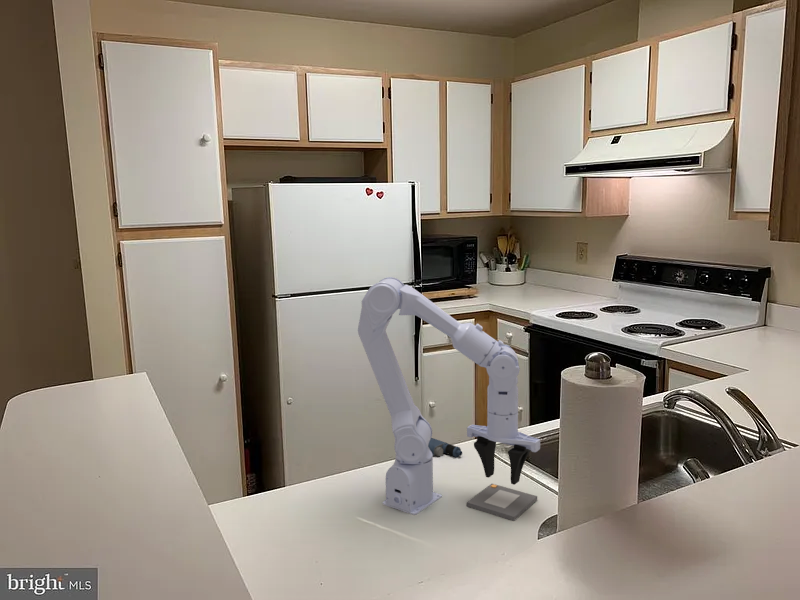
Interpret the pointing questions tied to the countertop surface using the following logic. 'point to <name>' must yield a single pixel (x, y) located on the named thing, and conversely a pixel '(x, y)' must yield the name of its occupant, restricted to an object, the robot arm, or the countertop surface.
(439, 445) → the vaping device
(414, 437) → the robot arm
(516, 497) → the computer chip
